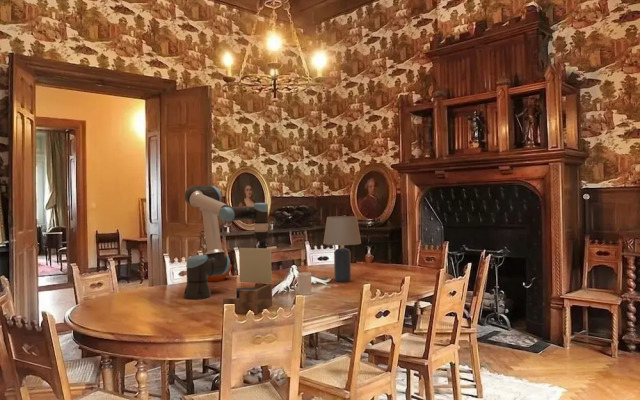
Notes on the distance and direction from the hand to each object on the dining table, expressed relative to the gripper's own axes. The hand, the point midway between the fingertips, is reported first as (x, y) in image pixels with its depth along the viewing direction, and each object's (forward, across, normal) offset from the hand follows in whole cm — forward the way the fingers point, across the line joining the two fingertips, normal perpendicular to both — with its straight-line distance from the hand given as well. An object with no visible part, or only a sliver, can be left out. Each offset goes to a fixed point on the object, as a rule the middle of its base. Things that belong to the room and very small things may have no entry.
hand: (261, 274), depth 278 cm
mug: (+15, +26, -14) cm, 33 cm away
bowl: (+15, +59, +62) cm, 87 cm away
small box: (+15, -18, +1) cm, 23 cm away
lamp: (+15, +74, -26) cm, 80 cm away
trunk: (+15, -18, 0) cm, 23 cm away
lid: (-6, -9, 0) cm, 11 cm away
